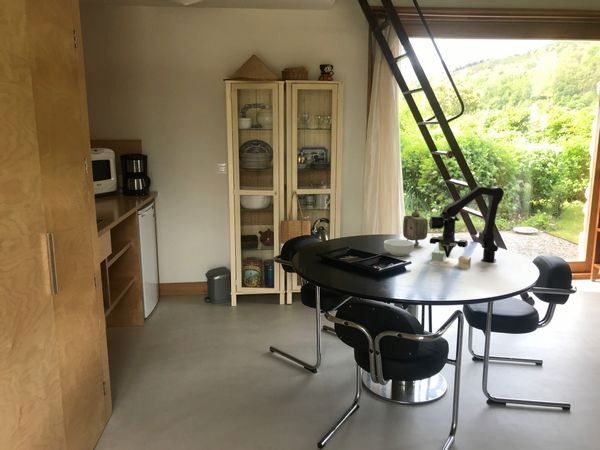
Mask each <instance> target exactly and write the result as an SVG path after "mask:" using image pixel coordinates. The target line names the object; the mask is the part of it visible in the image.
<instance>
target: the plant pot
mask: <svg viewBox="0 0 600 450" xmlns="http://www.w3.org/2000/svg"><path fill="white" fill-rule="evenodd" d="M437 237H440V238H441V237H442V235H438V236H437ZM437 244H438V250H439V251H445V250H444V248H443V247H442V246H440V245H441V243H439V242H437Z"/></svg>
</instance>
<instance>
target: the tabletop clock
mask: <svg viewBox="0 0 600 450" xmlns="http://www.w3.org/2000/svg"><path fill="white" fill-rule="evenodd" d="M415 206H417V208H418V209H417V208H415ZM412 209H413V210H414V211H413V212H412V213H411V214H410V215H405V216H403V222H402V233H403V237H404V238H405V240H407V241H415V242H414V248H415V247H417V246H418V245H420V244H419V241H423V240H426V239H427V237H428V232H429V231H428V230H429V229H428V228H429V222H428V219H427V218H426V217H424V216H421V214H420V212H419V211H420V205H419V204H416V203H415V204H413V206H412Z"/></svg>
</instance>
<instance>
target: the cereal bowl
mask: <svg viewBox="0 0 600 450" xmlns="http://www.w3.org/2000/svg"><path fill="white" fill-rule="evenodd" d="M414 244H415V242H414V241H412V240H408V241H407V239H398V238H397V239H395V238H394V239H386V240H384V242H383V248H384V250H385V251H386V252H388V253H389V254H390V255H391V256H395V257H397V256H398V257H403V256H406V255H408V254H410V253H412V252H413V250H414V248H415V246H414Z"/></svg>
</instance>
